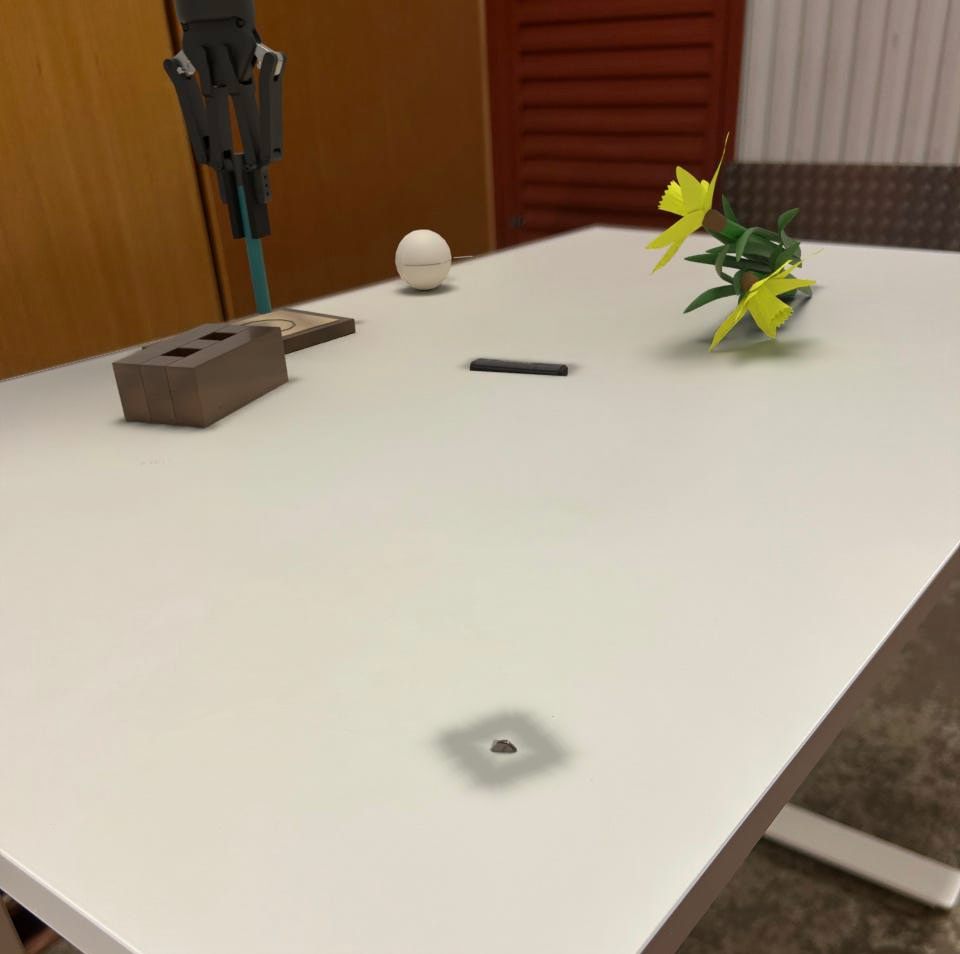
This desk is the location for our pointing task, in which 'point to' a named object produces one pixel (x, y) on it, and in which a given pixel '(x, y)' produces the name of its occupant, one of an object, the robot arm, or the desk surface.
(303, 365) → the desk surface
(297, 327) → the picture frame
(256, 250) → the pen
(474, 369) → the usb stick
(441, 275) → the seamed sphere
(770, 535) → the desk surface
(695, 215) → the daffodil flowers
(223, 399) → the pen block
